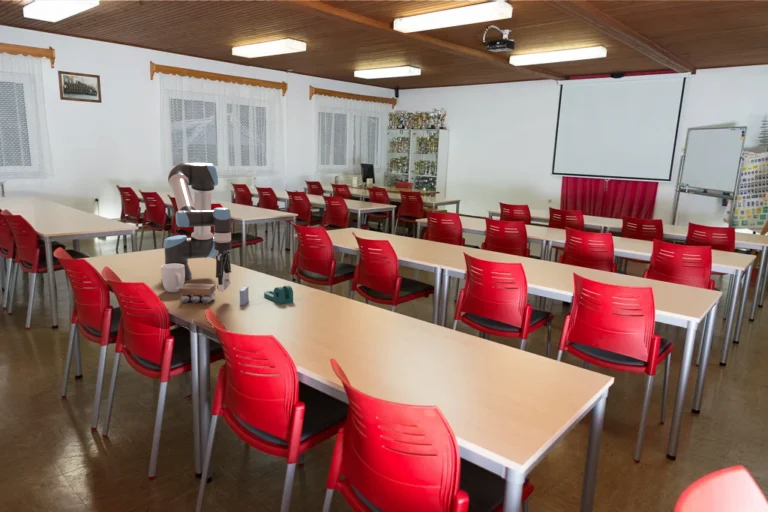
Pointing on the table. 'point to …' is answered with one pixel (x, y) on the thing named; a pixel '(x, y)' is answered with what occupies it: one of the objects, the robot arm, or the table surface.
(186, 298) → the grey ball cluster
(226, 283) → the roller
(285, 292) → the bracket
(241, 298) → the stop block
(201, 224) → the robot arm
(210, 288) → the slab
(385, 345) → the table surface
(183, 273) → the mug
